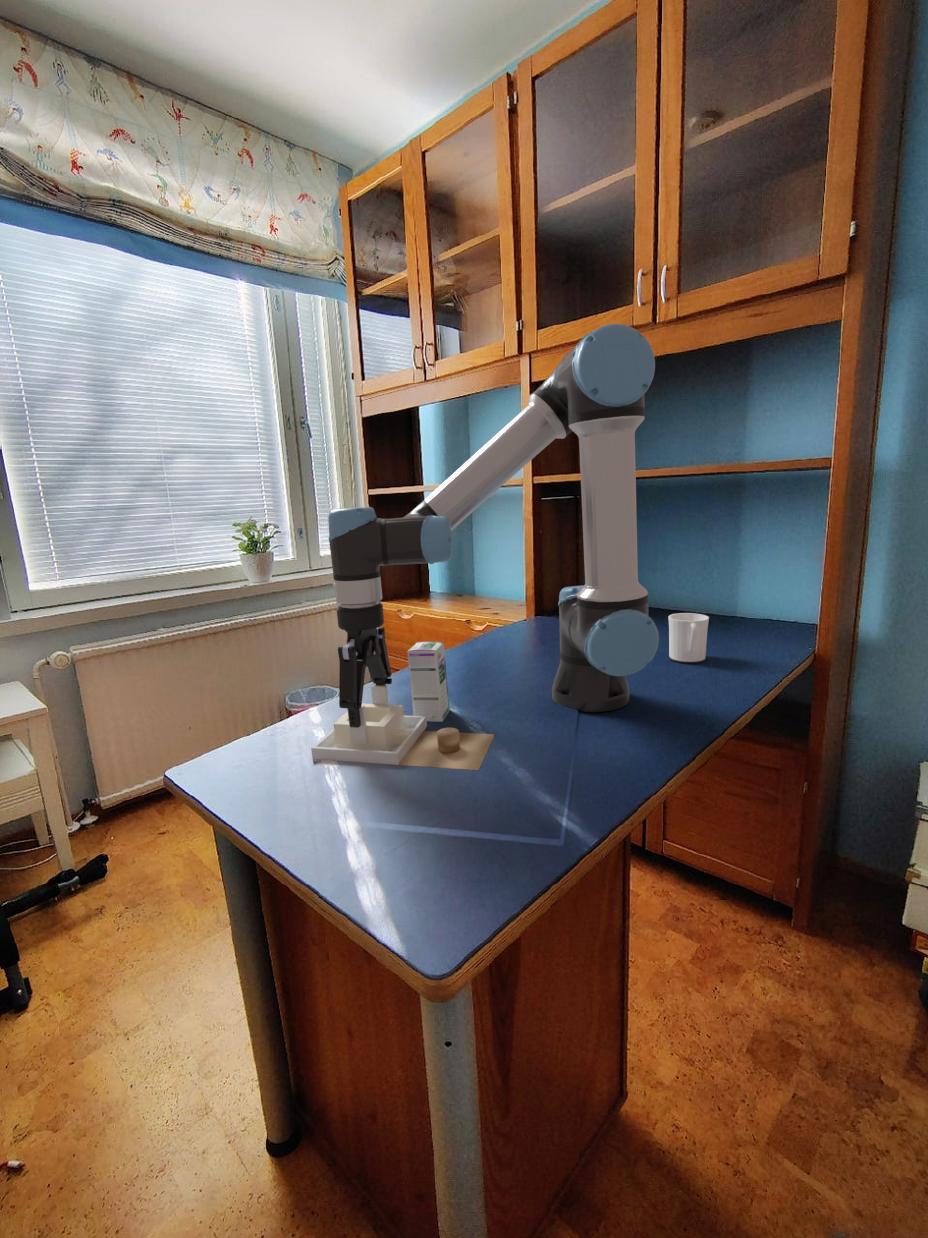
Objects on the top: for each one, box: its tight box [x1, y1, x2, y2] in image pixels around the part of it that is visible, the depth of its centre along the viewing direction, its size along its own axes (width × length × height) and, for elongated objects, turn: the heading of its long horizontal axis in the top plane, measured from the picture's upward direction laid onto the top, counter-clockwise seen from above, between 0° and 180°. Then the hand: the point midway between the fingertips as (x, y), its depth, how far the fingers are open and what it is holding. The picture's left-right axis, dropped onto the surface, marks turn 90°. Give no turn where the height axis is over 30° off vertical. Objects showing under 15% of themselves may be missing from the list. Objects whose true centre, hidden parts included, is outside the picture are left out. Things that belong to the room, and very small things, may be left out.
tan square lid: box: [398, 727, 496, 771], centre depth 95 cm, size 13×13×4 cm
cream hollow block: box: [333, 703, 412, 751], centre depth 98 cm, size 9×12×5 cm
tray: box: [311, 714, 428, 766], centre depth 99 cm, size 15×15×2 cm
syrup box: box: [406, 641, 450, 723], centre depth 108 cm, size 6×6×14 cm
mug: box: [667, 612, 710, 665], centre depth 134 cm, size 11×9×10 cm
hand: (371, 731), depth 99 cm, fingers closed on cream hollow block, 9 cm apart
